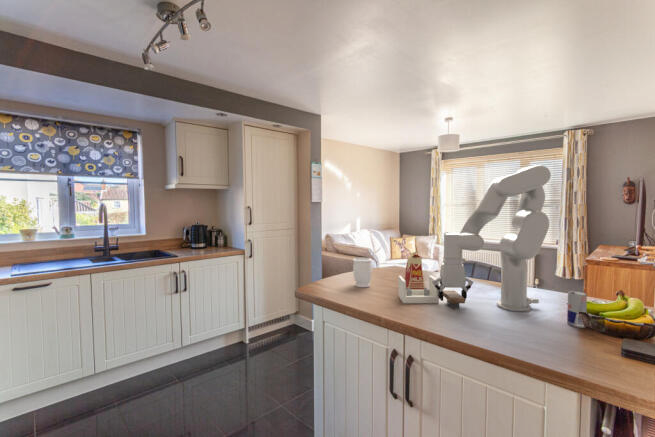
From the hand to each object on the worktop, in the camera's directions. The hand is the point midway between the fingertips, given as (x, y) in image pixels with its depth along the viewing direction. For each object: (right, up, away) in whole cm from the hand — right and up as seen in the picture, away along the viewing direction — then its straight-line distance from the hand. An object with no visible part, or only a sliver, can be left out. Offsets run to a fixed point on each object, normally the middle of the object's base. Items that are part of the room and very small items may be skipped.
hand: (452, 299), depth 136 cm
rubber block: (0, -3, 0) cm, 3 cm away
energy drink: (+36, -3, -23) cm, 43 cm away
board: (0, 0, 0) cm, 0 cm away
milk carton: (-9, -2, +28) cm, 30 cm away
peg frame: (-12, -2, +10) cm, 16 cm away
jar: (-35, -2, +35) cm, 50 cm away
